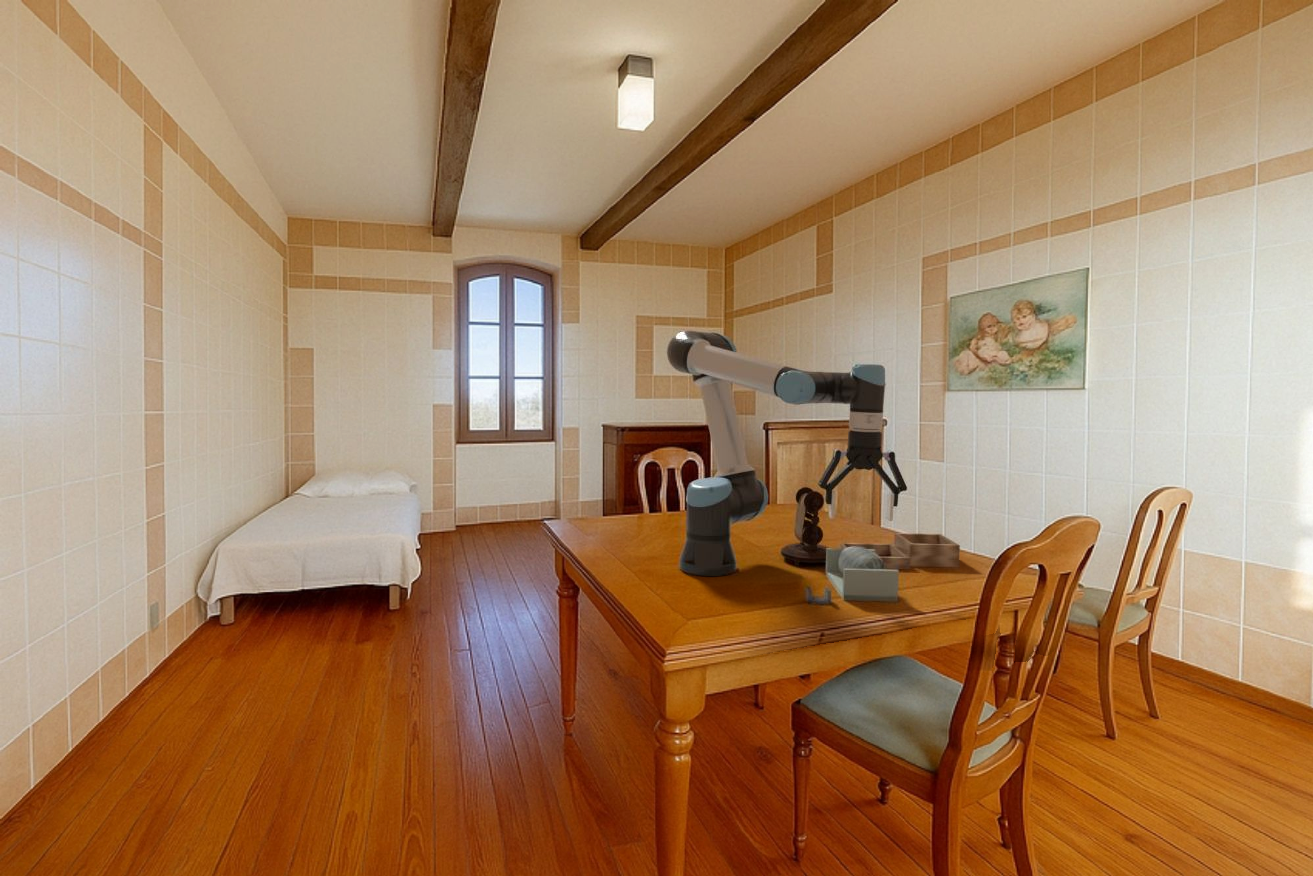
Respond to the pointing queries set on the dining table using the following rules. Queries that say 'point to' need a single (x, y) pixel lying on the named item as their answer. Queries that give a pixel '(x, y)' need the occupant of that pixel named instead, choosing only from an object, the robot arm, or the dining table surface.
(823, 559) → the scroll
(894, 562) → the frame
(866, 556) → the grey oval rock
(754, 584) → the dining table surface
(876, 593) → the holder
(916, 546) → the frame
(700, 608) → the dining table surface
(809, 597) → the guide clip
